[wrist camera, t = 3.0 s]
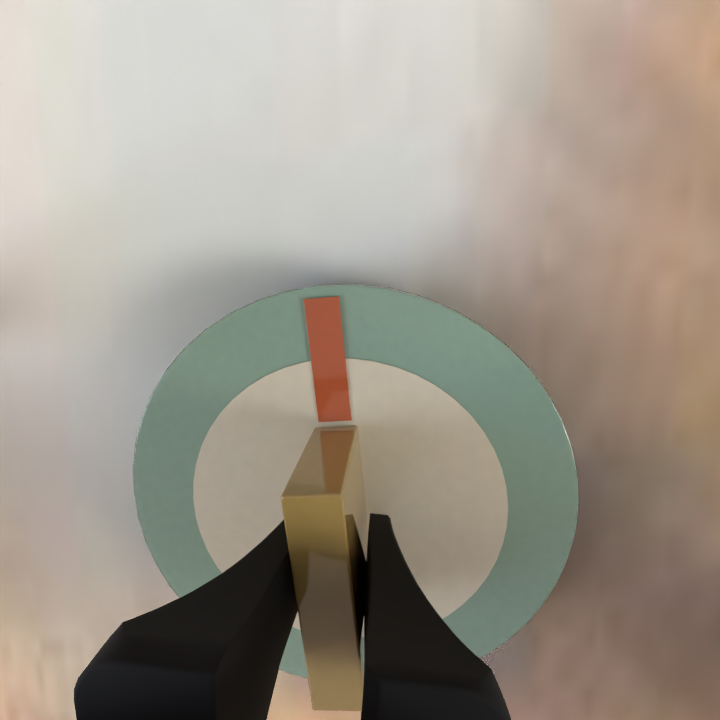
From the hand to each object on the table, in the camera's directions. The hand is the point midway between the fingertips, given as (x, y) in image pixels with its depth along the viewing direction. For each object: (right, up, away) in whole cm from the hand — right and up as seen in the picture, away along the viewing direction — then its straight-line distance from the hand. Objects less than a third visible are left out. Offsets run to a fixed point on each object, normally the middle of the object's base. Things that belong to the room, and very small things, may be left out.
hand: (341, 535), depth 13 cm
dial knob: (0, +1, +2) cm, 2 cm away
